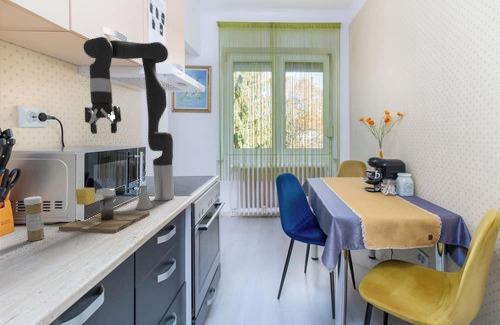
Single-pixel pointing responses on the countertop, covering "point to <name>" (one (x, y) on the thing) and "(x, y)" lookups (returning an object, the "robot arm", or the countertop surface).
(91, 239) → the countertop surface
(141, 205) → the flask
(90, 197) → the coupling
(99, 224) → the board
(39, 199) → the sprinkles bottle
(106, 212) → the glass spice jar
